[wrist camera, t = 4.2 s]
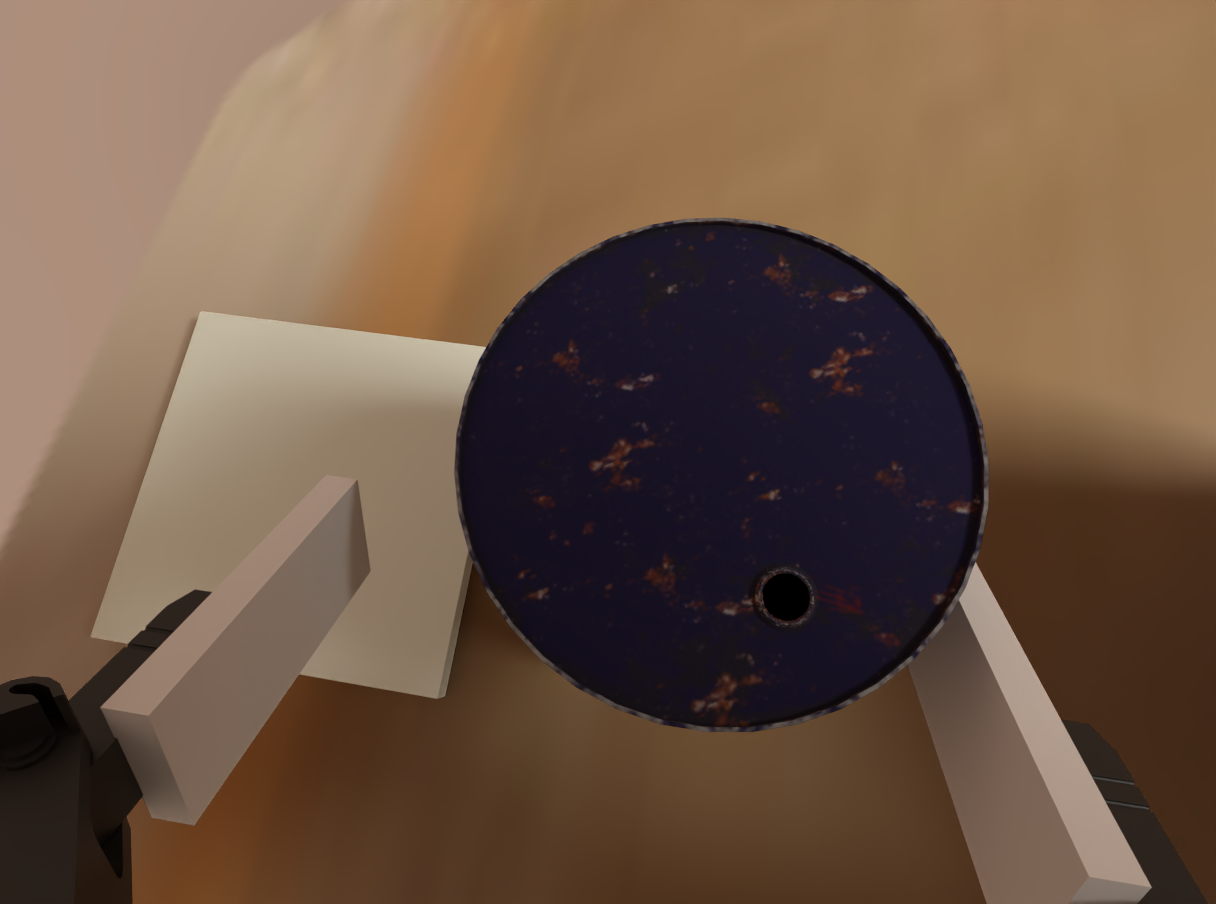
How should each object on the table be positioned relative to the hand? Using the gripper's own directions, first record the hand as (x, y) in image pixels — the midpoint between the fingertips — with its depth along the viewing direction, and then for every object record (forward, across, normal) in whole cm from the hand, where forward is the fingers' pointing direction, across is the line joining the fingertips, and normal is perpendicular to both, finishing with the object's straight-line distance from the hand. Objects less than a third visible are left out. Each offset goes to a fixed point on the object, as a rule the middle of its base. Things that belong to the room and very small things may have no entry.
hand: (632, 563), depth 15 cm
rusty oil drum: (+10, +1, -7) cm, 12 cm away
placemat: (+10, -14, -6) cm, 18 cm away
